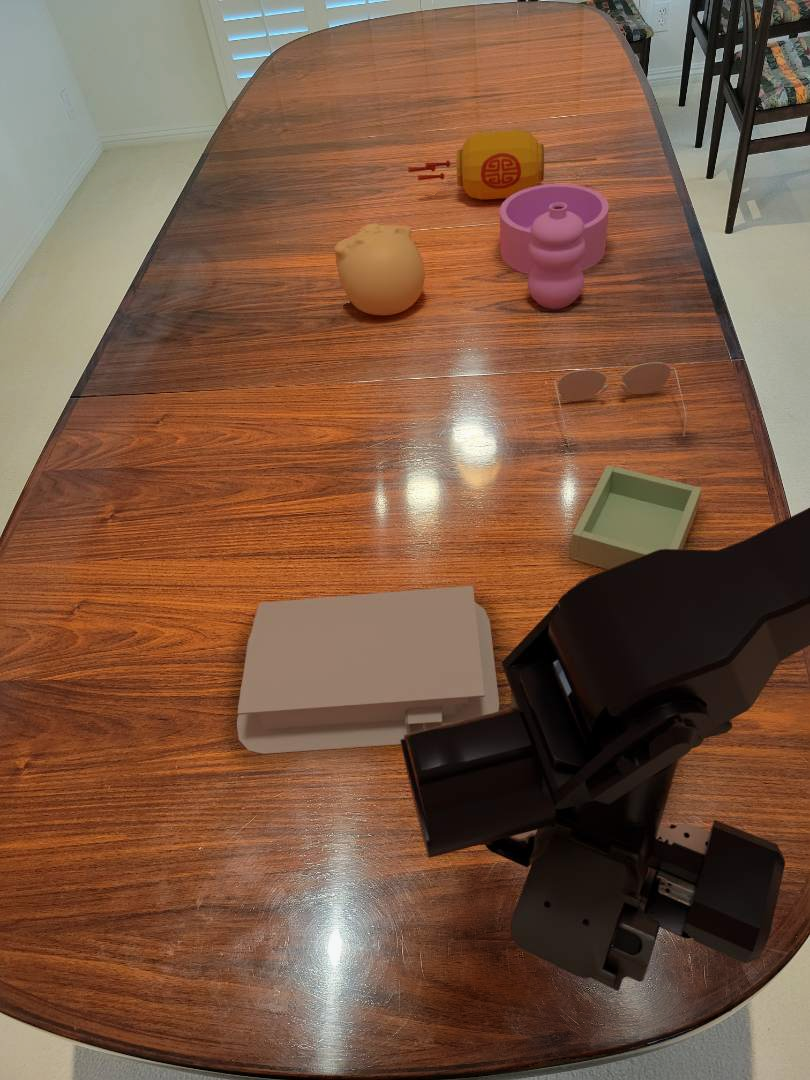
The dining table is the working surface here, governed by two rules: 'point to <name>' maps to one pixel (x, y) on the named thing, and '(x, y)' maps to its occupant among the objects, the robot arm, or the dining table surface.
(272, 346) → the dining table surface
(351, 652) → the book
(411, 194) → the dining table surface
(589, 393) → the sunglasses
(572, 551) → the right bin
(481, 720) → the robot arm
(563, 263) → the container set
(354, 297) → the sculpture
